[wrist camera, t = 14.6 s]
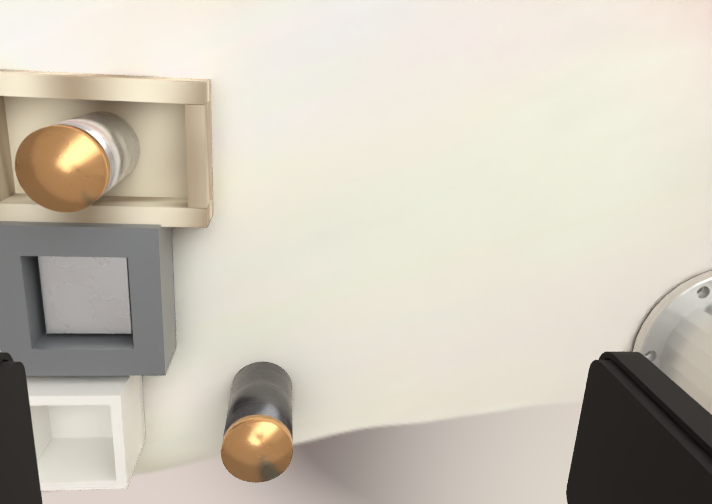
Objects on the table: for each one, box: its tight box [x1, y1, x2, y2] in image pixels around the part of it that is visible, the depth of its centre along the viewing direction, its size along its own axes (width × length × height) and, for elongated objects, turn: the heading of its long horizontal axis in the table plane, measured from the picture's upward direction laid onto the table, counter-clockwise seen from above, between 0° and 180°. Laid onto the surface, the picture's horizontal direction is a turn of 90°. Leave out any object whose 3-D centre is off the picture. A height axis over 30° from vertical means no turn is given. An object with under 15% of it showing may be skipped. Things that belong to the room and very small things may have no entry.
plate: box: [38, 256, 133, 334], centre depth 36 cm, size 5×5×1 cm
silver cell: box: [15, 111, 140, 212], centre depth 32 cm, size 4×4×7 cm
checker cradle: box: [0, 221, 176, 376], centre depth 36 cm, size 9×9×4 cm
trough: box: [0, 70, 213, 228], centre depth 34 cm, size 12×8×3 cm, turn 87°
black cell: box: [221, 362, 293, 482], centre depth 38 cm, size 4×4×7 cm
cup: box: [26, 375, 146, 491], centre depth 38 cm, size 6×6×5 cm
